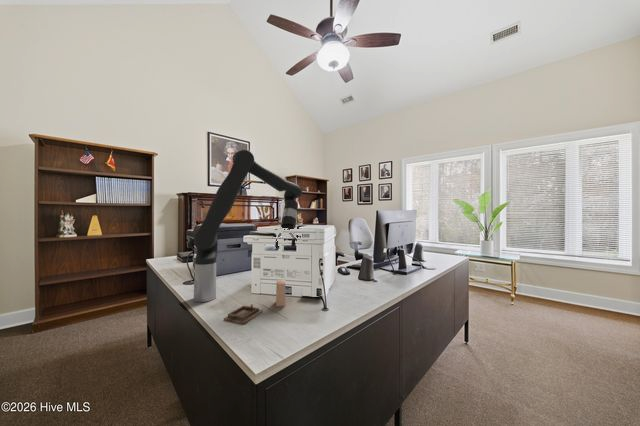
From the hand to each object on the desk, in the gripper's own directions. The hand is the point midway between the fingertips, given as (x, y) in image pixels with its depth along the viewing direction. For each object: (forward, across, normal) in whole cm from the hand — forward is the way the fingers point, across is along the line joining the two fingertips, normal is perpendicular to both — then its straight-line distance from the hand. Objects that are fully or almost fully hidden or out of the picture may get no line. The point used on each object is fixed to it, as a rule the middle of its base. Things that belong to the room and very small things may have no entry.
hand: (284, 247), depth 117 cm
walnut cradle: (+32, -9, -9) cm, 35 cm away
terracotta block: (+25, -2, +6) cm, 26 cm away
